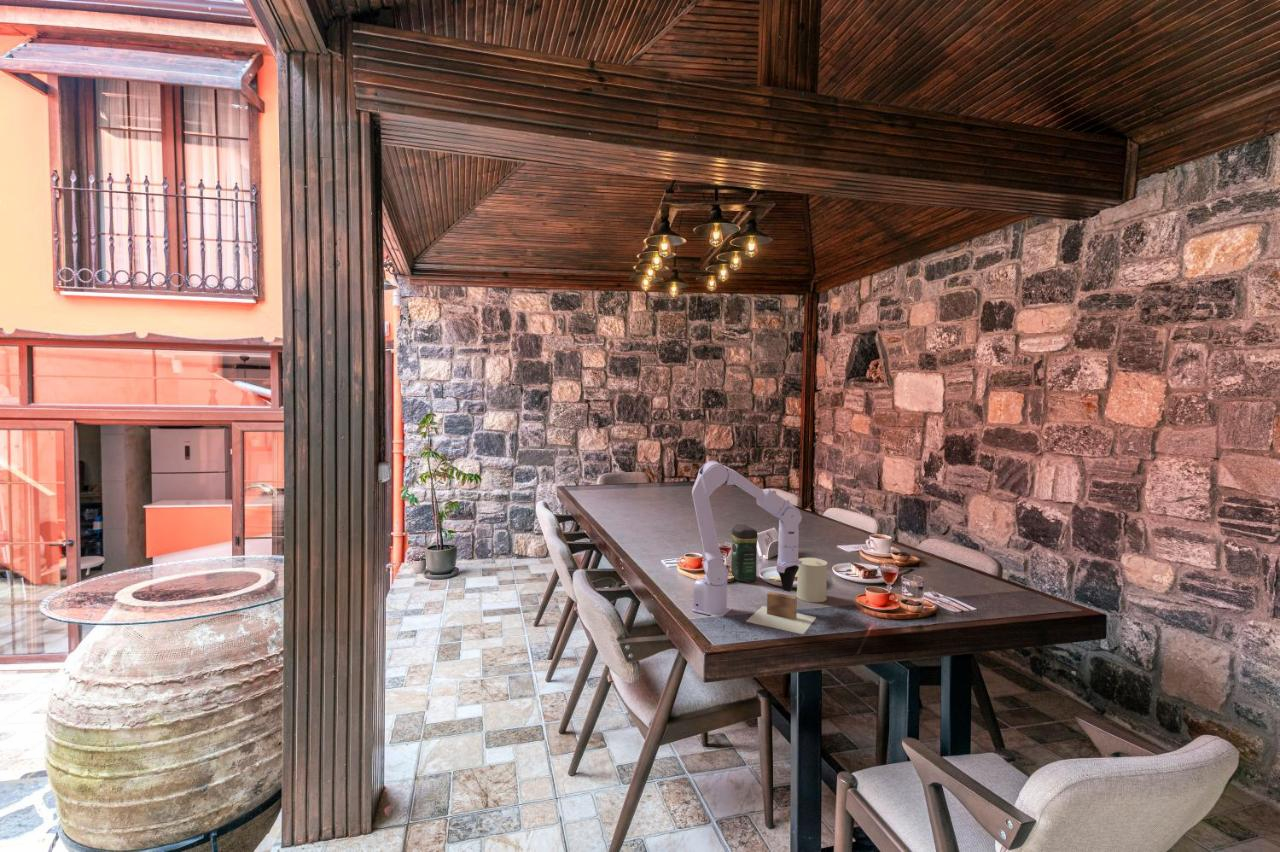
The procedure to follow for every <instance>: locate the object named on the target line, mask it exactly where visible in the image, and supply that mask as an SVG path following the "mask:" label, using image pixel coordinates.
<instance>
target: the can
mask: <svg viewBox="0 0 1280 852" xmlns="http://www.w3.org/2000/svg"><path fill="white" fill-rule="evenodd" d="M798 560H799V561H802V564H801V565H798V564H797V566H799V569H798V571H797V582H796V584H797V585H796V586H797V587H796V596H795V597H797V599H799V600H801V601H804V602H808V603H823V602H825V601H827V580H828V579H827V578H828V577H827V576H828V562H827V560H823V559H820V558H817V557H801V558H798Z"/></svg>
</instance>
